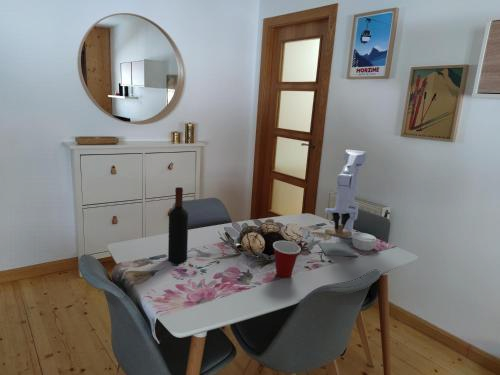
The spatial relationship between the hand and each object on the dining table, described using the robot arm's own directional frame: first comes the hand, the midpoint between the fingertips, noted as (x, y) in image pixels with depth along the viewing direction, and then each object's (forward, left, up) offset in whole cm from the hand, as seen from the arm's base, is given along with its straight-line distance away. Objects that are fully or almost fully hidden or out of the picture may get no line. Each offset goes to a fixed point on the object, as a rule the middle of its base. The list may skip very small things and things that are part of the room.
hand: (339, 228), depth 173 cm
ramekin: (-4, +14, -11) cm, 18 cm away
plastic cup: (+26, -29, -10) cm, 41 cm away
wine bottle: (+14, -71, -10) cm, 74 cm away
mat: (0, 0, -10) cm, 10 cm away
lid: (0, 0, -2) cm, 2 cm away
